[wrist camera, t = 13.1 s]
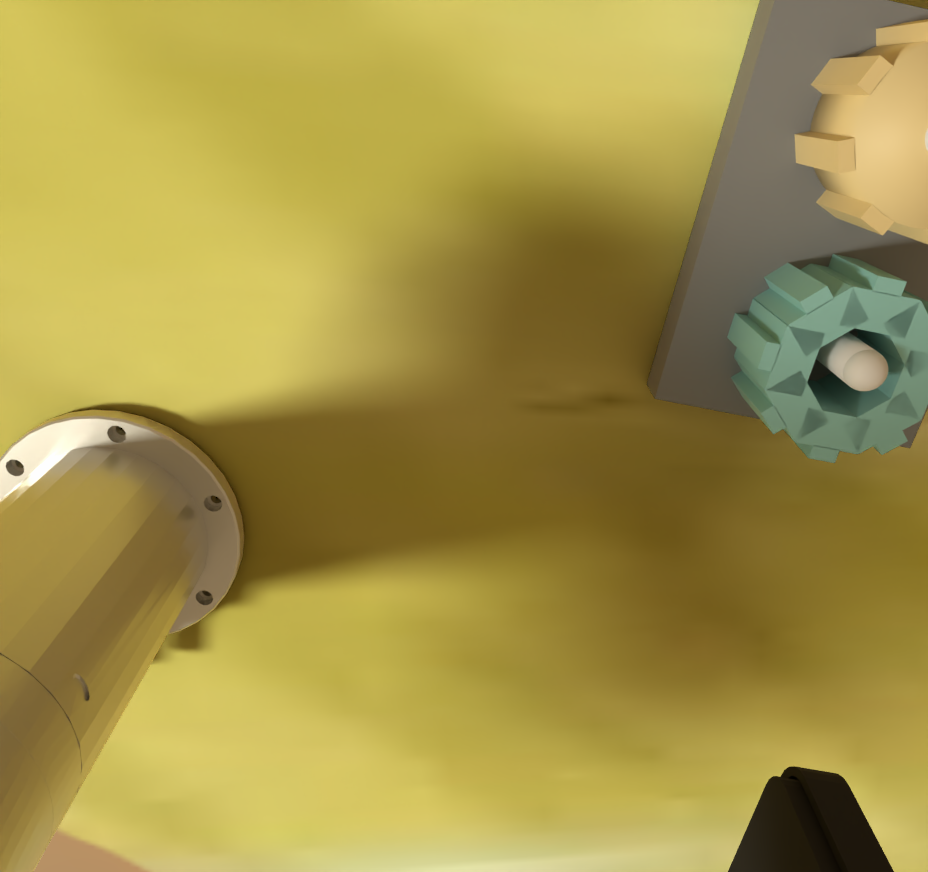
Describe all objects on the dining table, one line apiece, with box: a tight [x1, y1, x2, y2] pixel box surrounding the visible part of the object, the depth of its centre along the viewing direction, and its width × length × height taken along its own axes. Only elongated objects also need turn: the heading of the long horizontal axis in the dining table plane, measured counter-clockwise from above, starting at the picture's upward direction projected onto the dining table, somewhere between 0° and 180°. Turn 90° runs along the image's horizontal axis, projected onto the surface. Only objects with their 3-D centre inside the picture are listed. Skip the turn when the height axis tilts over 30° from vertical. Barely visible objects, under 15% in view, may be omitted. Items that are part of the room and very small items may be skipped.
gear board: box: [647, 0, 928, 448], centre depth 33 cm, size 17×12×8 cm
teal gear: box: [727, 254, 928, 463], centre depth 35 cm, size 8×8×4 cm
